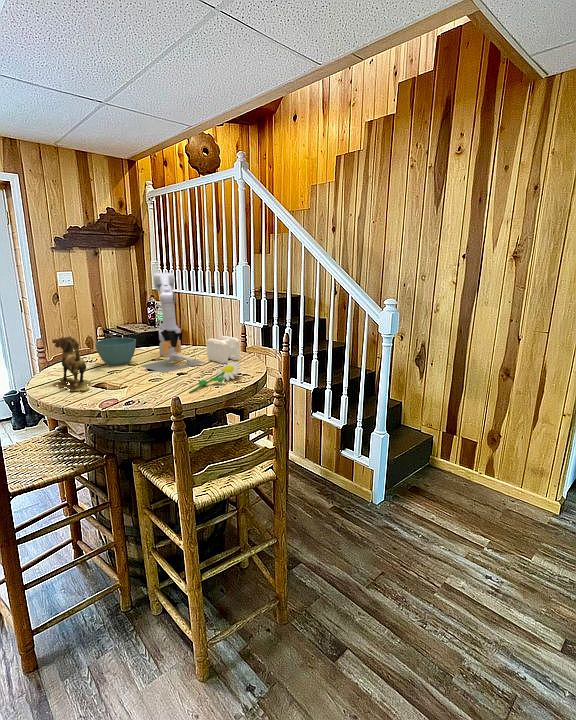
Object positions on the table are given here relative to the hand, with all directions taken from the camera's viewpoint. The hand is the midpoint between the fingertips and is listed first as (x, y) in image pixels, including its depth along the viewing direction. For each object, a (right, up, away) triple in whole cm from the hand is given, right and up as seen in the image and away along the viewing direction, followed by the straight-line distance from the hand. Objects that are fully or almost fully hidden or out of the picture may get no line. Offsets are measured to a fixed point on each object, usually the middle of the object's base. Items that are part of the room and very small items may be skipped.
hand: (171, 346), depth 194 cm
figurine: (-34, -17, -24) cm, 45 cm away
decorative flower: (+25, -17, -23) cm, 38 cm away
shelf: (0, -10, +3) cm, 10 cm away
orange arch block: (0, -3, +1) cm, 3 cm away
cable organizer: (+23, -7, +14) cm, 28 cm away
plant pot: (-28, -9, +7) cm, 30 cm away
